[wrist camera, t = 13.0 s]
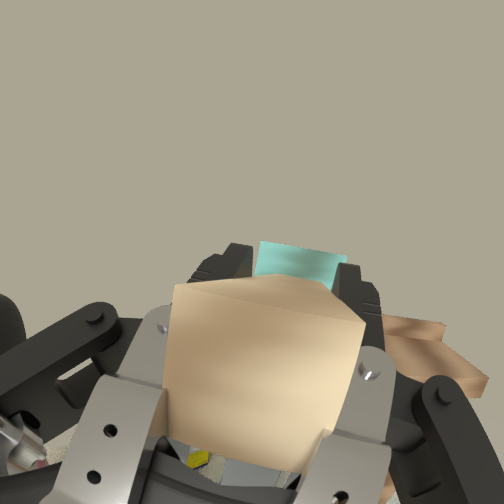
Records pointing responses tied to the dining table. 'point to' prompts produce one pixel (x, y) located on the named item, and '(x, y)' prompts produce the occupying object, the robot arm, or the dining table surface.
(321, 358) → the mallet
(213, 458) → the dining table surface
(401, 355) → the walnut stand
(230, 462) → the slate pedestal
